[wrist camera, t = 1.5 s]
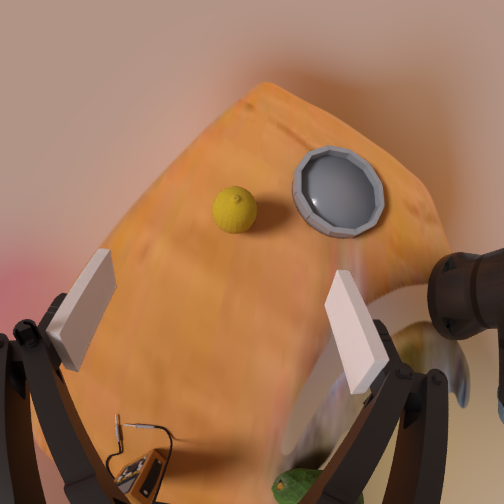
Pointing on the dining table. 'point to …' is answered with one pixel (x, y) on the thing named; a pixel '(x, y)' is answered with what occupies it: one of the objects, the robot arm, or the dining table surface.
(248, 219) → the lemon
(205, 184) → the dining table surface
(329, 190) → the grey round plate
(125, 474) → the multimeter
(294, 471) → the fruit
